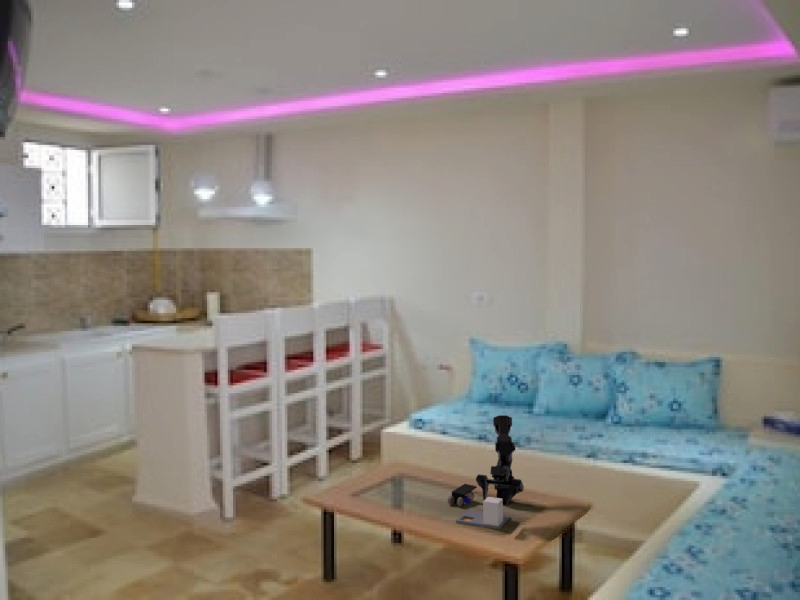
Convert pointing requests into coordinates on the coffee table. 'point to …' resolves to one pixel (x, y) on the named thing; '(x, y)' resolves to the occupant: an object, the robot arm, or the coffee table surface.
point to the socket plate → (478, 519)
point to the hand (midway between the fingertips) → (495, 502)
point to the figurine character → (462, 495)
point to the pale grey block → (493, 511)
